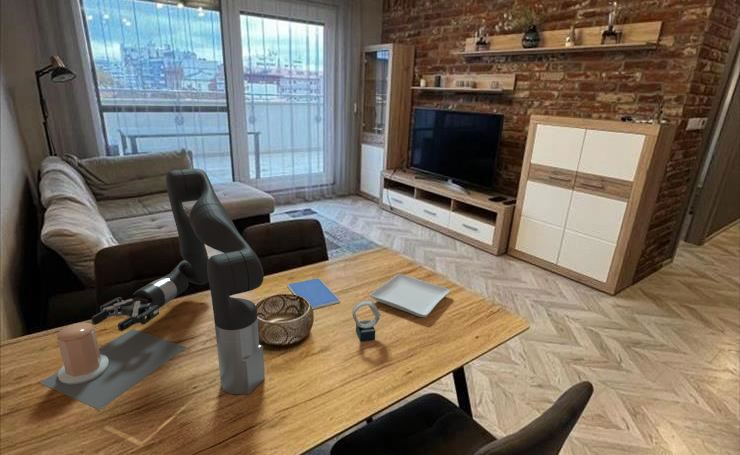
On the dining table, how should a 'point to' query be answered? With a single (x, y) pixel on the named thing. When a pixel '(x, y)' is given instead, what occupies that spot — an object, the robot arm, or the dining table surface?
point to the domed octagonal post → (79, 349)
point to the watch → (366, 322)
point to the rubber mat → (120, 368)
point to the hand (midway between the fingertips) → (105, 324)
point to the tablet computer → (314, 293)
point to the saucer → (80, 379)
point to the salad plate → (410, 294)
